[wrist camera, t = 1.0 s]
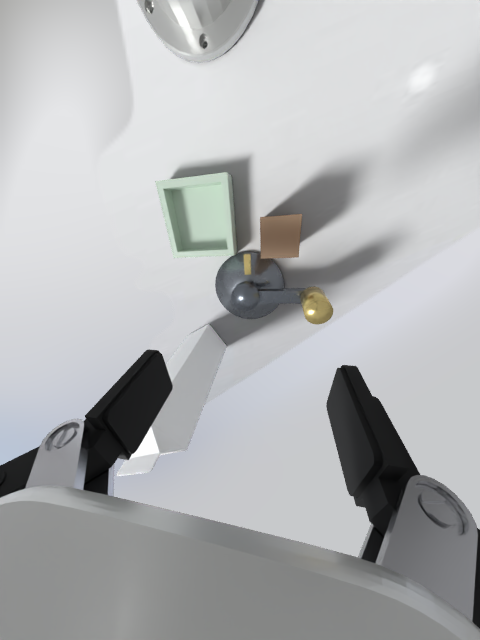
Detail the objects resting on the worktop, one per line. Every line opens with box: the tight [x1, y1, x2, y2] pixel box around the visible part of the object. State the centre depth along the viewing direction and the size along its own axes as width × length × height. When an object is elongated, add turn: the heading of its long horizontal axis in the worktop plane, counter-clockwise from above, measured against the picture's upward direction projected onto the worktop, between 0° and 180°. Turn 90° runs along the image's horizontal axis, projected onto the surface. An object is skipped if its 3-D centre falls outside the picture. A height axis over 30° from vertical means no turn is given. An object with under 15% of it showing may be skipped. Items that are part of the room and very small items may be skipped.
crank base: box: [215, 252, 284, 319], centre depth 28 cm, size 11×11×3 cm
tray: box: [155, 172, 237, 258], centre depth 25 cm, size 9×9×2 cm
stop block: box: [260, 214, 302, 259], centre depth 22 cm, size 4×4×7 cm
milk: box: [117, 324, 227, 476], centre depth 27 cm, size 6×6×22 cm
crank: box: [231, 281, 333, 324], centre depth 24 cm, size 12×4×6 cm, turn 94°
